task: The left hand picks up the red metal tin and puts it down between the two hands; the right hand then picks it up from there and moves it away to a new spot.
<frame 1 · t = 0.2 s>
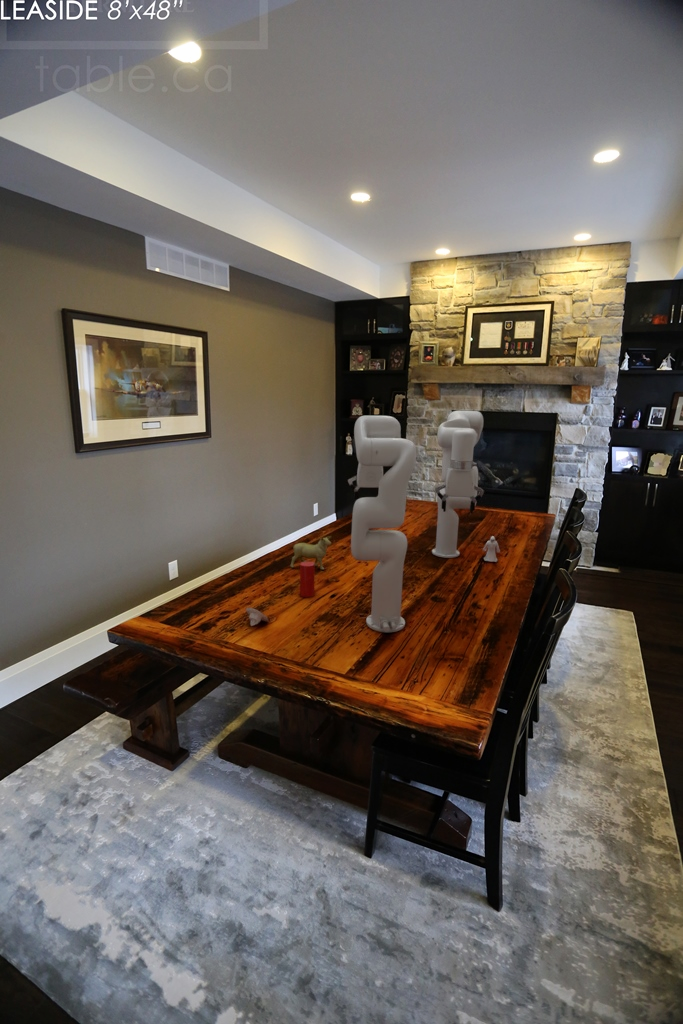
left hand: (369, 500, 198), 31 cm above the table, tool pointing down, fingers open, 9 cm apart
right hand: (457, 511, 183), 31 cm above the table, tool pointing down, fingers open, 9 cm apart
seashell: (256, 623, 161), on the table
figurine: (490, 560, 225), on the table
toy: (311, 568, 211), on the table
tin: (307, 594, 185), on the table
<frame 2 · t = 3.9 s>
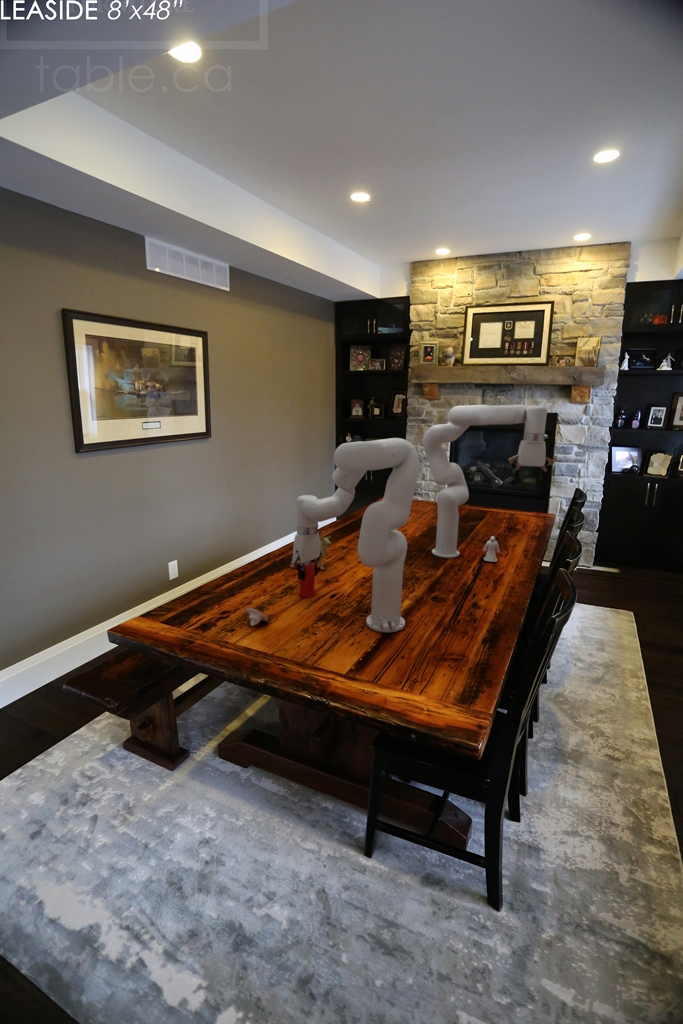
left hand: (307, 576, 183), 7 cm above the table, tool pointing down, fingers closed on tin, 5 cm apart
right hand: (528, 480, 202), 40 cm above the table, tool pointing down, fingers open, 9 cm apart
tin: (307, 594, 185), on the table, touching left hand
everything else where it was.
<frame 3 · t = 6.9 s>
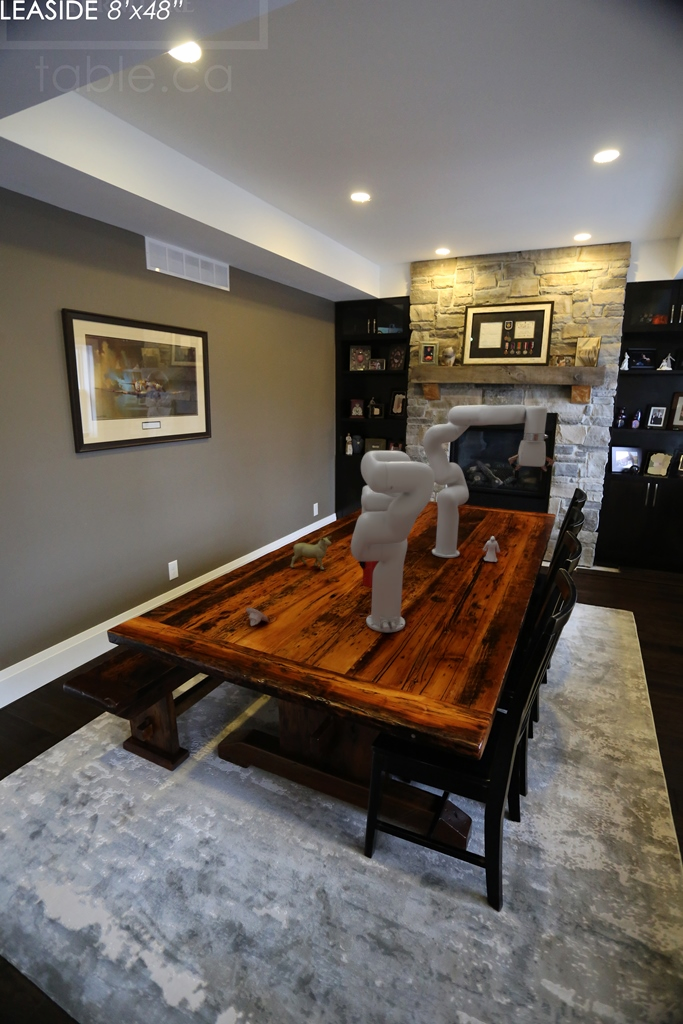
left hand: (370, 567, 183), 11 cm above the table, tool pointing down, fingers closed on tin, 5 cm apart
right hand: (528, 480, 202), 40 cm above the table, tool pointing down, fingers open, 9 cm apart
tin: (369, 584, 185), point 4 cm above the table, touching left hand
everything else where it was.
when the left hand's fingers open (8 cm above the table, at t = 10.3 s): tin drops 2 cm, on the table.
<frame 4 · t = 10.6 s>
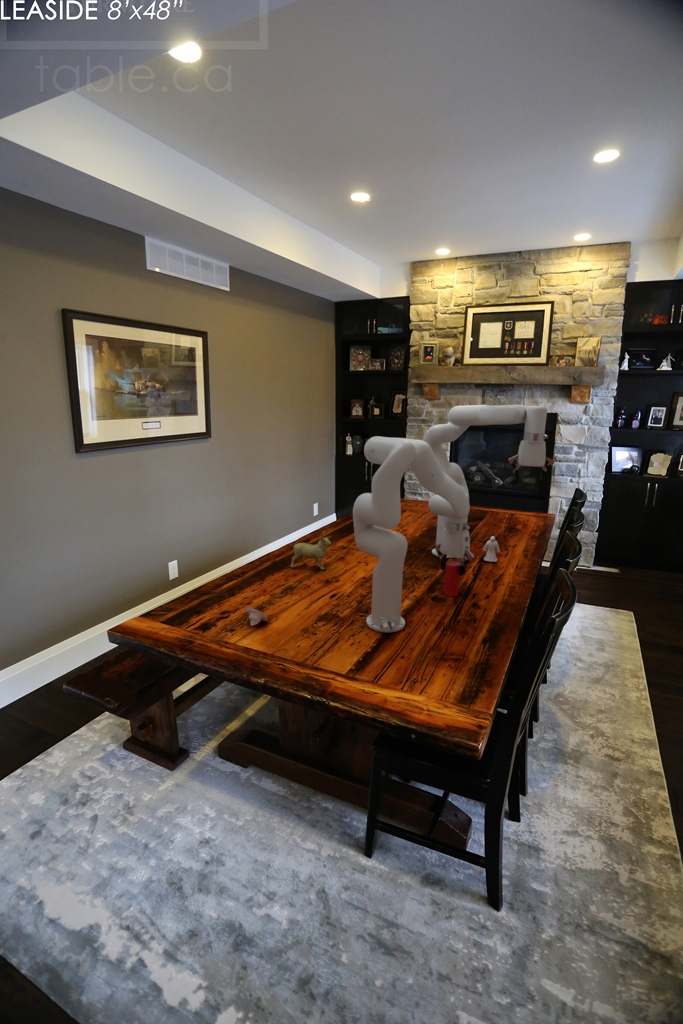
left hand: (452, 571, 186), 9 cm above the table, tool pointing down, fingers open, 7 cm apart
right hand: (528, 480, 202), 40 cm above the table, tool pointing down, fingers open, 9 cm apart
tin: (450, 593, 188), on the table
everything else where it was.
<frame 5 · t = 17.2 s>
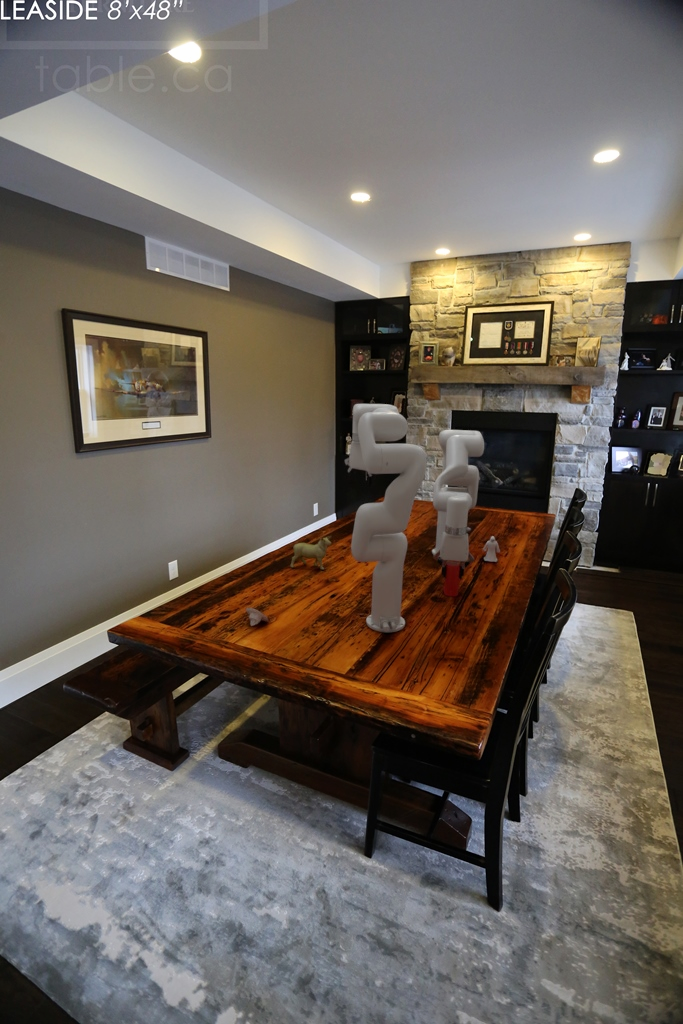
left hand: (361, 484, 186), 39 cm above the table, tool pointing down, fingers open, 9 cm apart
right hand: (452, 576, 186), 7 cm above the table, tool pointing down, fingers closed on tin, 5 cm apart
tin: (450, 593, 188), on the table, touching right hand
everything else where it was.
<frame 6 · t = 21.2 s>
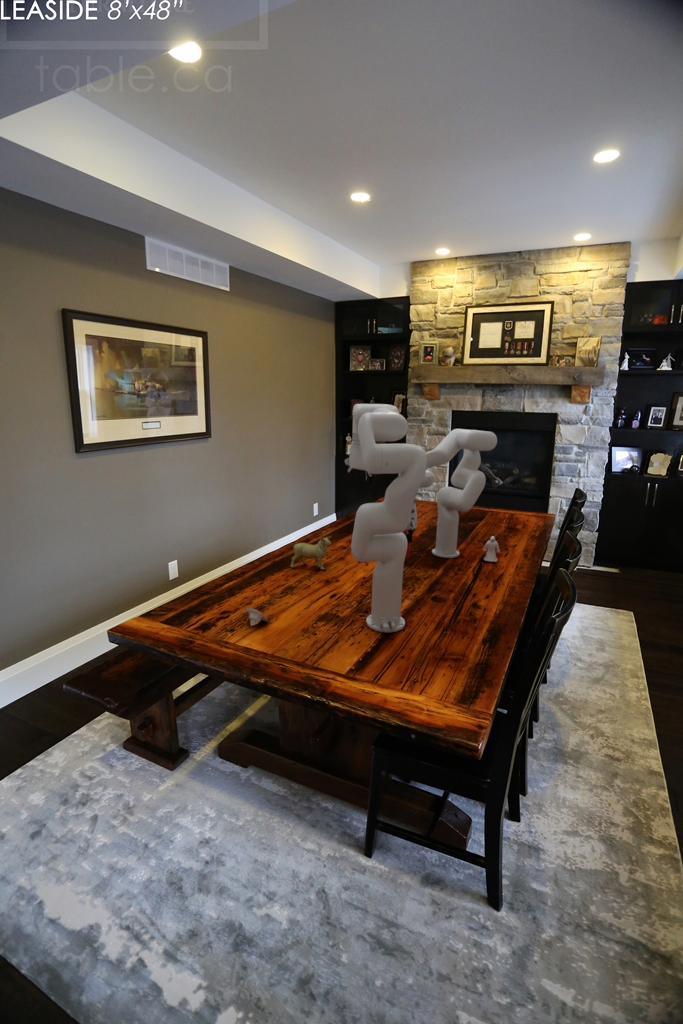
left hand: (361, 484, 186), 39 cm above the table, tool pointing down, fingers open, 9 cm apart
right hand: (404, 540, 216), 11 cm above the table, tool pointing down, fingers closed on tin, 5 cm apart
tin: (403, 555, 218), point 4 cm above the table, touching right hand
everything else where it was.
when the right hand's fingers open (8 cm above the table, at t = 25.1 s): tin drops 2 cm, on the table.
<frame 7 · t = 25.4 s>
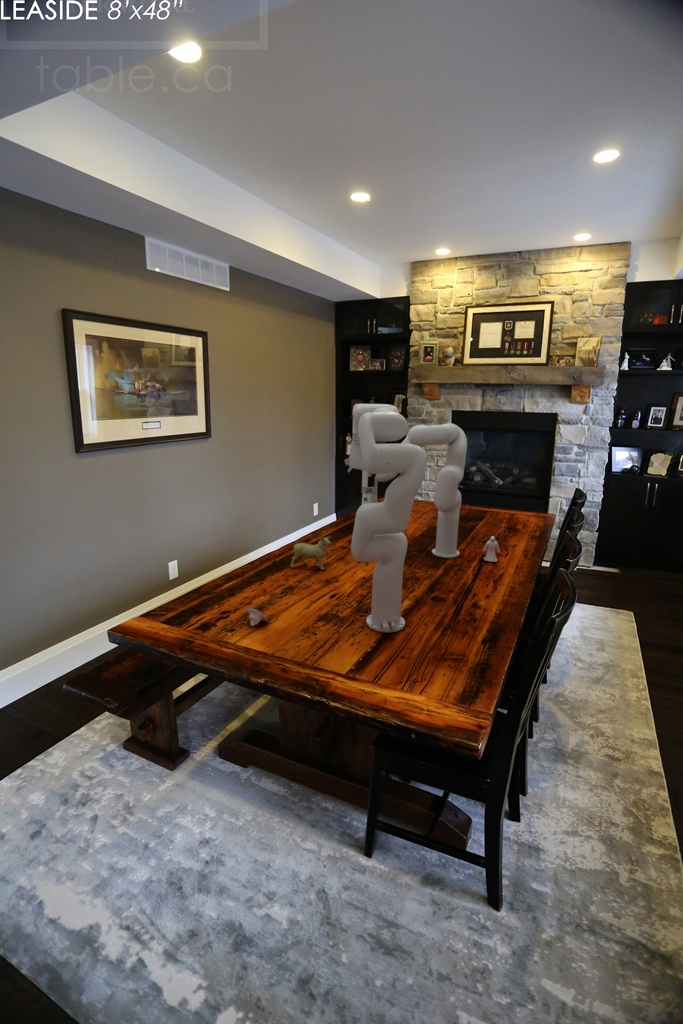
left hand: (361, 484, 186), 39 cm above the table, tool pointing down, fingers open, 9 cm apart
right hand: (368, 524, 247), 9 cm above the table, tool pointing down, fingers open, 8 cm apart
tin: (367, 541, 249), on the table
everything else where it was.
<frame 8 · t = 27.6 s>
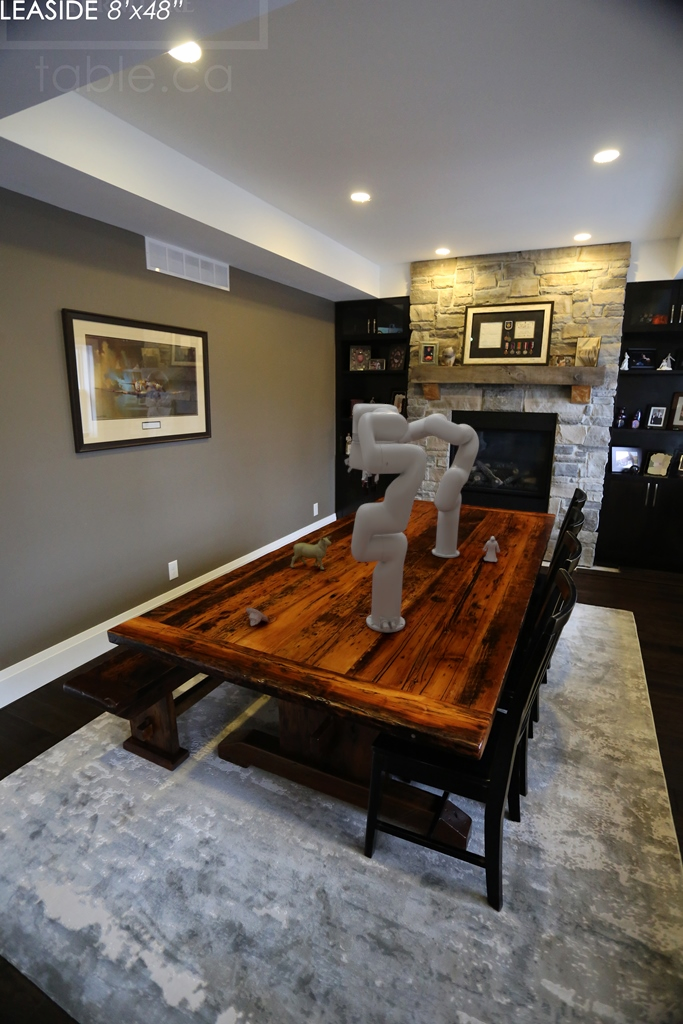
left hand: (361, 484, 186), 39 cm above the table, tool pointing down, fingers open, 9 cm apart
right hand: (369, 493, 243), 25 cm above the table, tool pointing down, fingers open, 9 cm apart
nothing on the table moved.
at the end: tin inside the target area (0.0 cm from its centre), on the table; tin tilted 0°; the two hands never held the tin at the same time; the left hand is holding nothing; the right hand is holding nothing; tin at rest at the end (0.0 cm/s) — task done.
